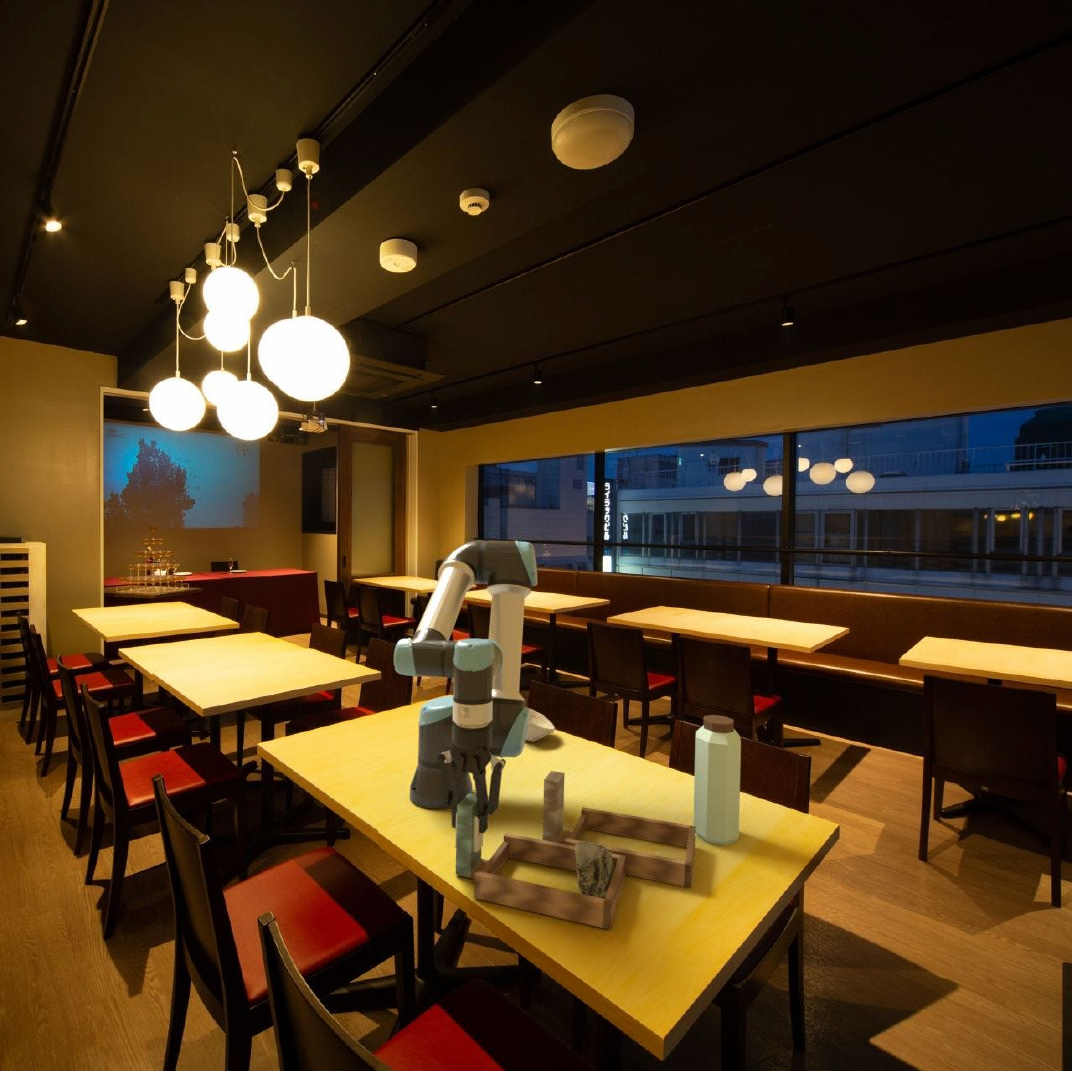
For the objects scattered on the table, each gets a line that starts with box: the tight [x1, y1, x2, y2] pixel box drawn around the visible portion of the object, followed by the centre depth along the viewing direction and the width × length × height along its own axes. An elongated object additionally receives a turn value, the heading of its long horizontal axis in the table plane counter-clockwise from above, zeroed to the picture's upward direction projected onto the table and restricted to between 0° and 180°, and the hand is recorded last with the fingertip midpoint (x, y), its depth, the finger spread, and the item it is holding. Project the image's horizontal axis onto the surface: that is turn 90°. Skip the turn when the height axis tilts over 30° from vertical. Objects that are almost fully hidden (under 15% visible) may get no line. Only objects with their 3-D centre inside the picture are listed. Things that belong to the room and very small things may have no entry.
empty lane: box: [542, 770, 696, 888], centre depth 117 cm, size 30×15×13 cm, turn 72°
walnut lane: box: [455, 793, 627, 930], centre depth 105 cm, size 30×15×13 cm, turn 72°
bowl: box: [526, 708, 556, 742], centre depth 182 cm, size 15×14×10 cm
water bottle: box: [692, 714, 742, 846], centre depth 125 cm, size 10×10×25 cm
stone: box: [575, 840, 615, 899], centre depth 103 cm, size 10×10×10 cm
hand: (469, 846), depth 109 cm, fingers closed on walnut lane, 3 cm apart
